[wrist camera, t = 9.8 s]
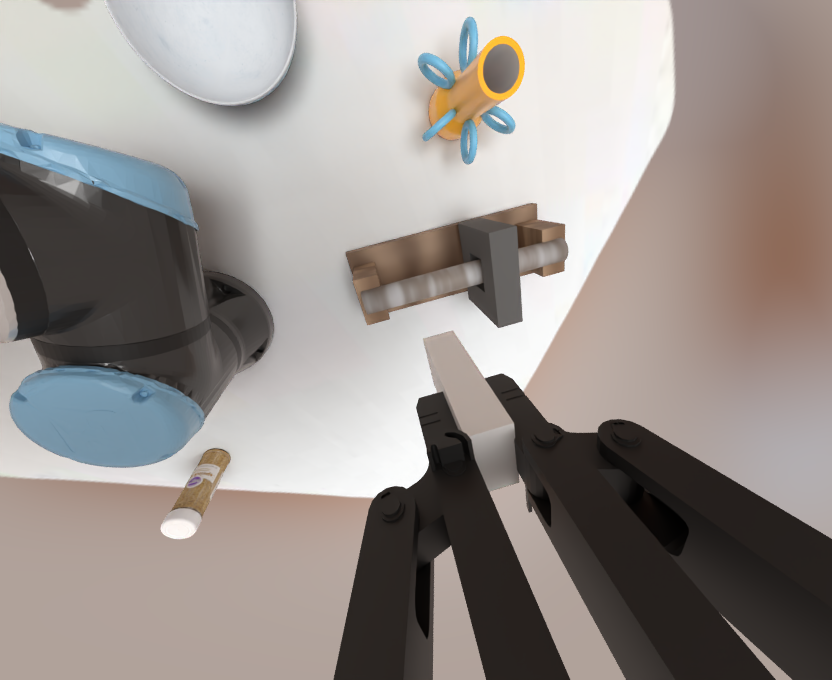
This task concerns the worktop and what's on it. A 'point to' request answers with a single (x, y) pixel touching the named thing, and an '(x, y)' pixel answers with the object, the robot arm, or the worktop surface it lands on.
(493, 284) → the collar
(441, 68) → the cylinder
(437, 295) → the pipe stand
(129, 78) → the worktop surface
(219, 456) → the sprinkles bottle
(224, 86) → the chinaware
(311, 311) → the worktop surface
